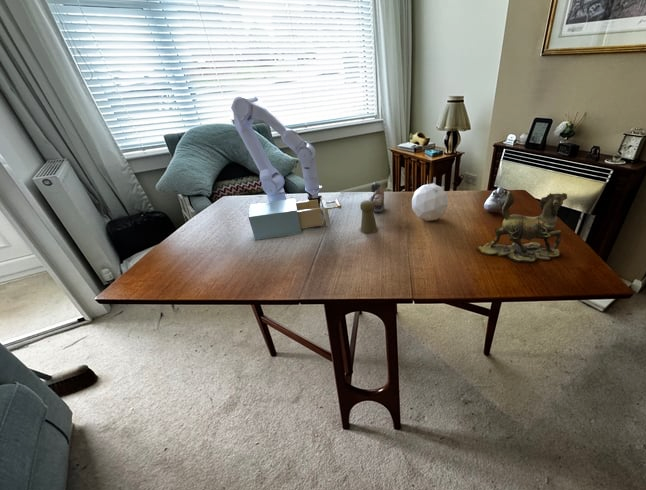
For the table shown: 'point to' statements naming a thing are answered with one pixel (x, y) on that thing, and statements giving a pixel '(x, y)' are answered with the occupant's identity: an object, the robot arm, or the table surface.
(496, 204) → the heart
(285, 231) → the cabinet
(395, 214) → the table surface
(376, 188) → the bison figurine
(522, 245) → the figurine
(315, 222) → the drawer
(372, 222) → the cork
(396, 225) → the table surface
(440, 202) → the geodesic sphere
